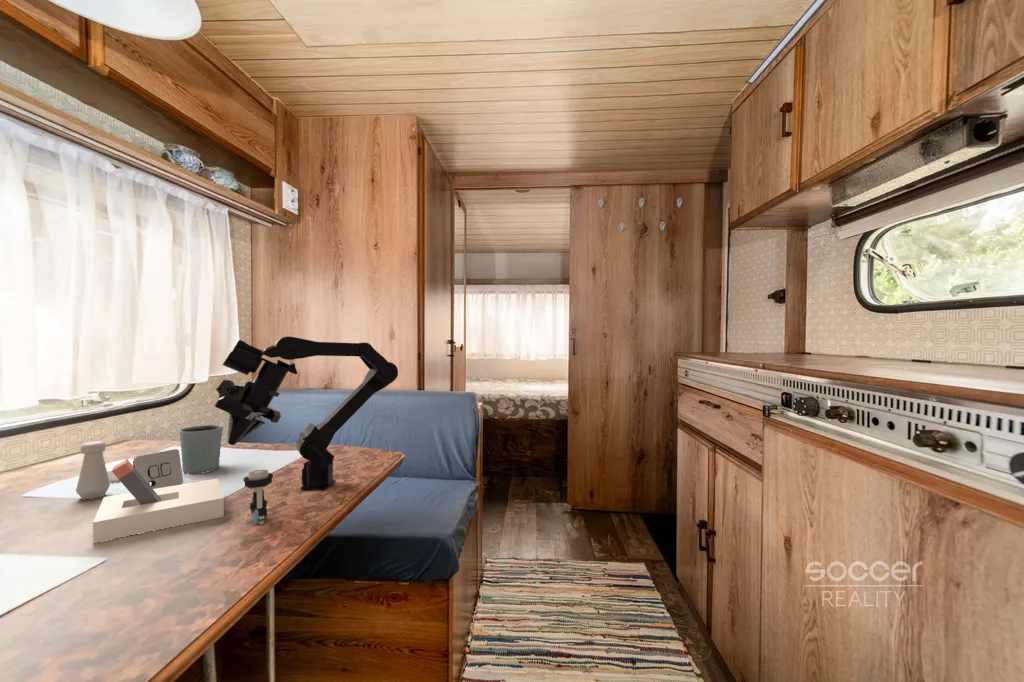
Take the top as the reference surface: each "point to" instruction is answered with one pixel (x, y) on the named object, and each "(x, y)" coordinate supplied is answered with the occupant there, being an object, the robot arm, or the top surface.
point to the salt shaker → (93, 472)
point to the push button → (258, 493)
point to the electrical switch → (160, 468)
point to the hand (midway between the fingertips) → (231, 444)
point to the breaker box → (158, 510)
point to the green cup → (200, 448)
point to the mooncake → (110, 466)
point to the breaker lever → (135, 483)
